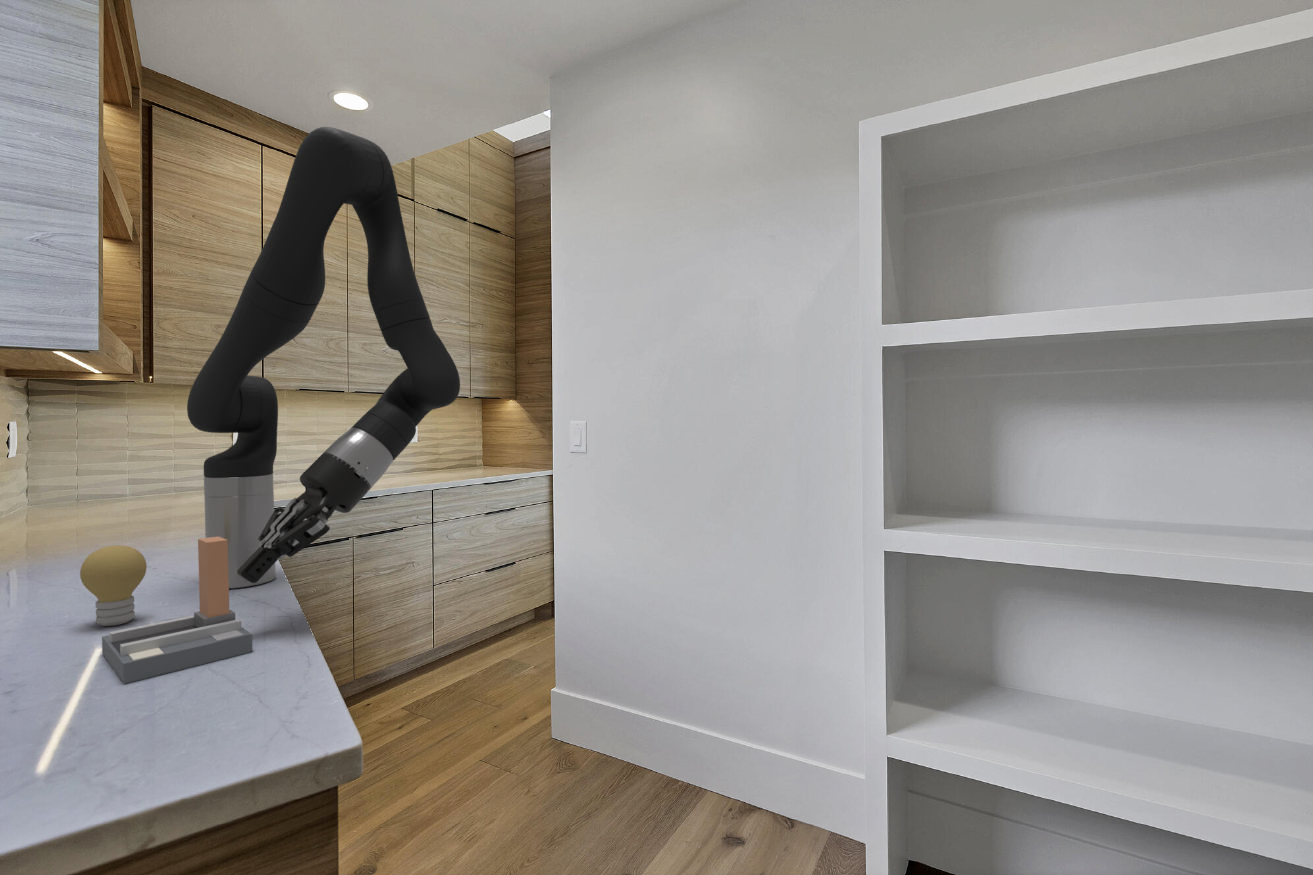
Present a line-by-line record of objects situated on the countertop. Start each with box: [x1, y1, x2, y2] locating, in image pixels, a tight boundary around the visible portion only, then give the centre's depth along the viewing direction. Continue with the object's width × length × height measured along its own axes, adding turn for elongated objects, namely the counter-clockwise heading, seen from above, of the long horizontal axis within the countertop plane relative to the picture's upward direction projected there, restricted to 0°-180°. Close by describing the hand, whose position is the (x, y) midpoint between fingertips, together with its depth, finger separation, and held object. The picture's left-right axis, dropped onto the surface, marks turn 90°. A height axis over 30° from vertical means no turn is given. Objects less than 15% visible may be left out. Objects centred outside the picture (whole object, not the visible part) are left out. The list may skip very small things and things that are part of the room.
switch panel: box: [101, 614, 253, 685], centre depth 68 cm, size 12×11×3 cm
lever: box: [193, 536, 236, 628], centre depth 71 cm, size 4×3×10 cm
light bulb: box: [79, 545, 148, 627], centre depth 79 cm, size 6×6×10 cm
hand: (245, 578), depth 73 cm, fingers closed
